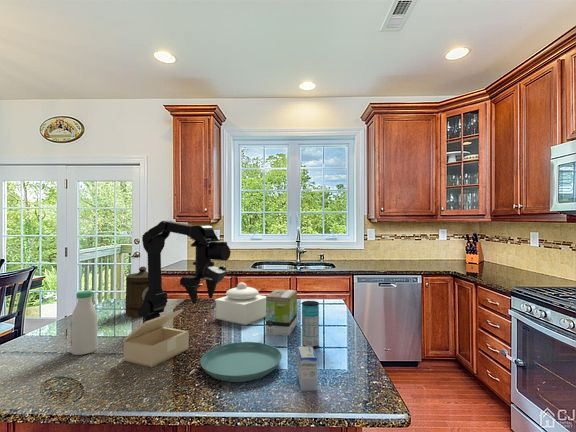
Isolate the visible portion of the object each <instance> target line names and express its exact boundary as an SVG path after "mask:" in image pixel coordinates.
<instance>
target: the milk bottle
mask: <svg viewBox="0 0 576 432" xmlns="http://www.w3.org/2000/svg"><path fill="white" fill-rule="evenodd" d="M92 298H93V291H92V290H83V291H78V292H77V293H76V301H77V302H76V305H75V308H74V310H73V311H72V314H71V318H70V353H71V355H73V356H82V355H87V354H91V353H93V352H95V351H97V349H98V313H97V312H98V311H97V310H96V308H95V306H94V303H93V301H92Z"/></svg>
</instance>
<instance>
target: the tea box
mask: <svg viewBox="0 0 576 432" xmlns="http://www.w3.org/2000/svg"><path fill="white" fill-rule="evenodd" d="M265 296H266V317H265V330H264V331H265V334H266V335H273V336H291V334H292V333H293V331H294V329H295V327H296V326H297V320H298V319H297V317H298V312H297V311H298V310H297V309H298V290H295V289H278V288H277V289H274V290H272V292H270V293H269V294H267V295H265Z"/></svg>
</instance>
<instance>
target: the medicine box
mask: <svg viewBox="0 0 576 432" xmlns="http://www.w3.org/2000/svg"><path fill="white" fill-rule="evenodd" d="M296 373H297V374H296V375H297V380H298V384H299V387H300V391H301V392H314V391H318V357H317V353H315V348H313V347H308V346H305V347H304V346H298V347H297V372H296Z"/></svg>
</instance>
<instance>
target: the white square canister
mask: <svg viewBox="0 0 576 432" xmlns="http://www.w3.org/2000/svg"><path fill="white" fill-rule="evenodd" d="M259 293H260V292H259V290H258V289H256V288H254V287H251V286H248V285H247V284H246V283H245V282H243V281H241V282H239V283H238V284H236V287H232V288H230V289H228V290H227V291H226V292H225V295H226V296H222V297H219V298H215V299H214V302H215V319H216V320H219V321H220V320H221V321H225V322H230V323H233V324H239V325H244V326H247V325H249V324H251V323H254V322H256V321H259V320H261V319H264V318H266V296H267V295H260V294H259Z"/></svg>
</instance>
